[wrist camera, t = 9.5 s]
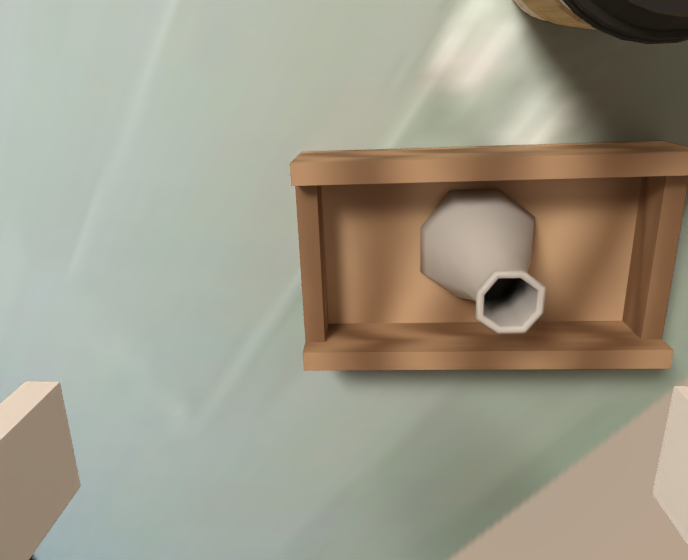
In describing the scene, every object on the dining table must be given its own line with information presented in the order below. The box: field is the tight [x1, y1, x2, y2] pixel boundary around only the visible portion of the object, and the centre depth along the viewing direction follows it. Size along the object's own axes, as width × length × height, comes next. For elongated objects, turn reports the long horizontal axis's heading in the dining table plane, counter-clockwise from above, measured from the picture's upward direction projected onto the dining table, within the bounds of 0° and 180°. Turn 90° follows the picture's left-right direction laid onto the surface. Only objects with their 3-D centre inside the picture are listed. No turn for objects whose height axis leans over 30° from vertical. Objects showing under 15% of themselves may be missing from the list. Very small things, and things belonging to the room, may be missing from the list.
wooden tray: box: [290, 141, 688, 371], centre depth 34 cm, size 21×12×5 cm, turn 92°
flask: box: [420, 189, 546, 334], centre depth 31 cm, size 7×7×10 cm
